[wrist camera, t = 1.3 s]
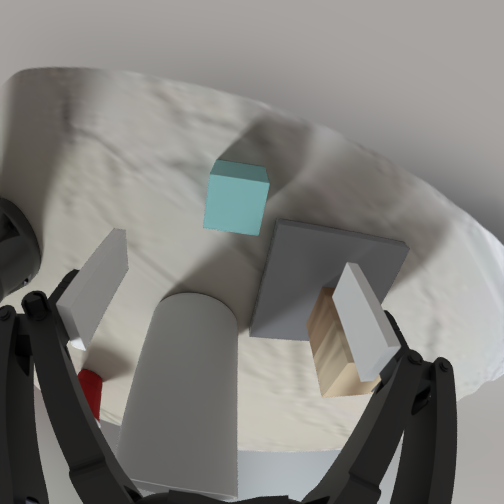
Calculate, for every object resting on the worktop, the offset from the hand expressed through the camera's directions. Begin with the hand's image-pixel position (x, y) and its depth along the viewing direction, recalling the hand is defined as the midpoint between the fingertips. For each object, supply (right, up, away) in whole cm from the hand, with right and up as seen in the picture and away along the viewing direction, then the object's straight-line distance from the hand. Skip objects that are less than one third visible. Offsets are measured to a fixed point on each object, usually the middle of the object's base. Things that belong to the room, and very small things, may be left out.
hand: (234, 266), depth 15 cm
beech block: (+13, -10, +15) cm, 22 cm away
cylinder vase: (-7, -9, +23) cm, 26 cm away
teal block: (-1, +8, +13) cm, 15 cm away
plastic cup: (-35, -27, +33) cm, 56 cm away
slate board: (+11, -4, +20) cm, 24 cm away
